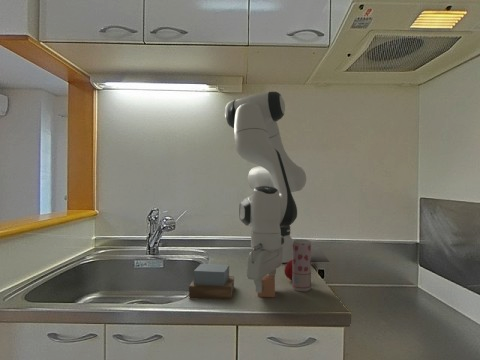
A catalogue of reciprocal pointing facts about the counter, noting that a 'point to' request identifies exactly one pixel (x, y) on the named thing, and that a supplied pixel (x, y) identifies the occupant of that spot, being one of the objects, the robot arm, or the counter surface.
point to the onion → (289, 269)
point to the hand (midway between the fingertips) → (265, 287)
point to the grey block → (211, 274)
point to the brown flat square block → (212, 290)
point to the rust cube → (268, 287)
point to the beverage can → (301, 265)
